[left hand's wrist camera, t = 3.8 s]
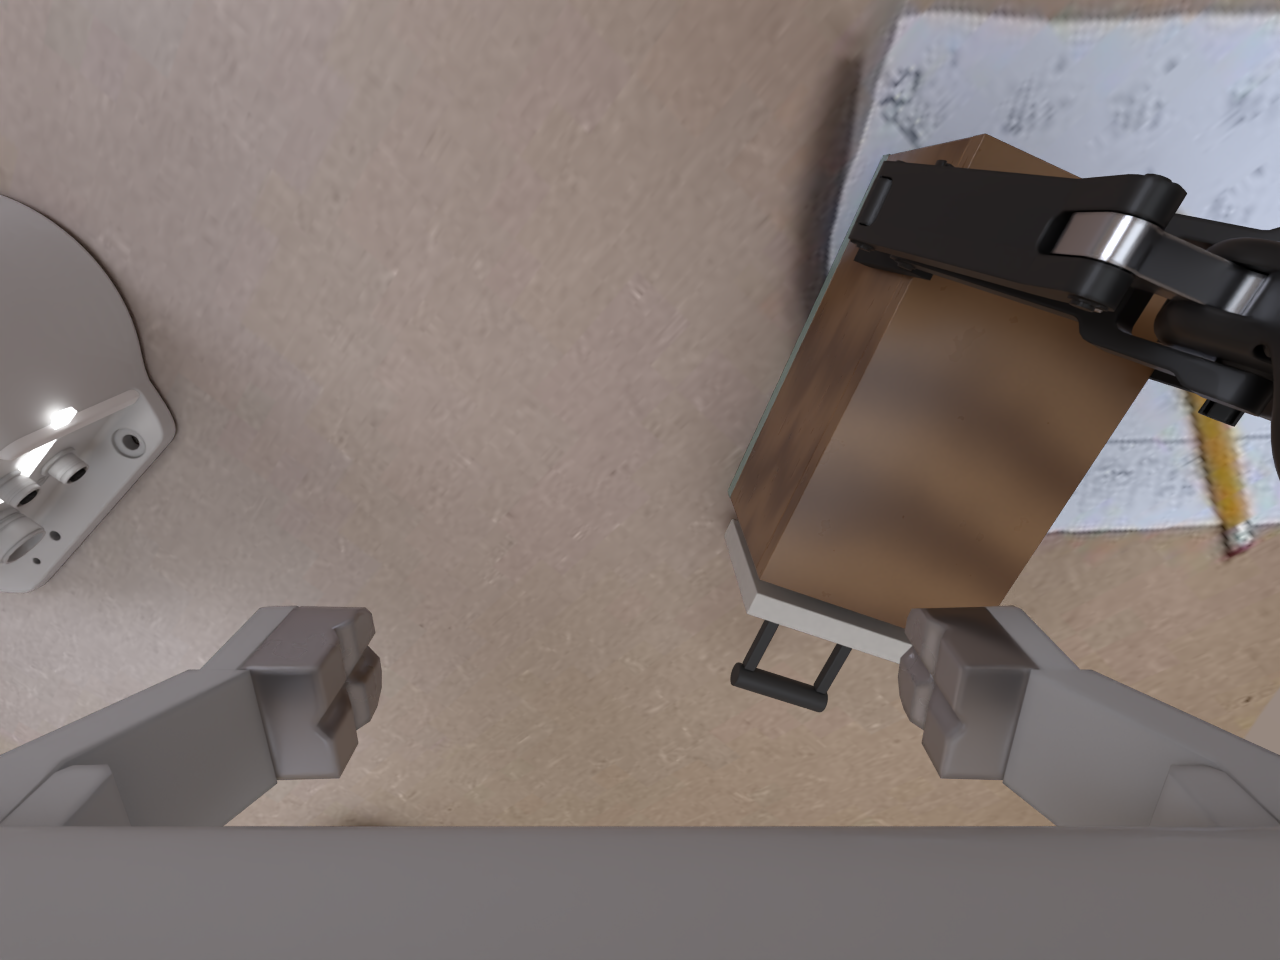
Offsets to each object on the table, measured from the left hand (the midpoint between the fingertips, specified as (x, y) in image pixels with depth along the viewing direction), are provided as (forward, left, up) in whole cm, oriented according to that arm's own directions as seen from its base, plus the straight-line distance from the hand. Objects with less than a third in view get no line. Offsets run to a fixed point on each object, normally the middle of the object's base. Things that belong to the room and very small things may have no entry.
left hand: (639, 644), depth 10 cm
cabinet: (+7, -12, -28) cm, 31 cm away
